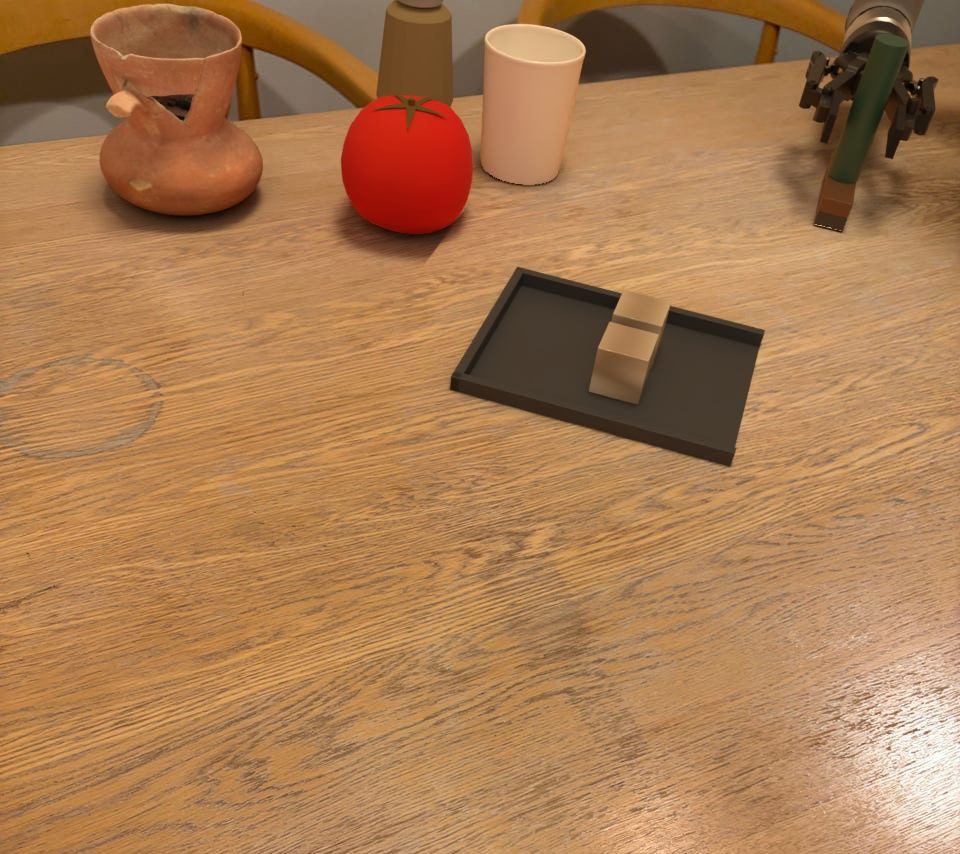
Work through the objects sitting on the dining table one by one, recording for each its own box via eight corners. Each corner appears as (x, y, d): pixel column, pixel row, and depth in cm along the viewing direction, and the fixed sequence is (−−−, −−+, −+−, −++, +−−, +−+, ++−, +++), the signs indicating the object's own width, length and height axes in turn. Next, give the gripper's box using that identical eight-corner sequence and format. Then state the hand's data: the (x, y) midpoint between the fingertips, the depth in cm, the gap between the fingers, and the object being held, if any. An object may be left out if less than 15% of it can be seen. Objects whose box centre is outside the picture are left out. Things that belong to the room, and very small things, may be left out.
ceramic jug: (206, 254, 90) (187, 83, 79) (65, 211, 92) (28, 39, 82) (303, 175, 101) (298, 15, 91) (175, 138, 104) (155, -21, 93)
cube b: (647, 377, 82) (659, 334, 79) (637, 405, 79) (649, 361, 76) (599, 365, 82) (609, 321, 79) (588, 391, 80) (597, 347, 77)
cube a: (660, 344, 85) (671, 301, 82) (650, 370, 83) (662, 326, 80) (613, 332, 86) (623, 289, 83) (603, 357, 83) (612, 313, 80)
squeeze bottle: (363, 138, 108) (366, -61, 95) (392, 110, 113) (398, -82, 100) (435, 156, 107) (447, -43, 93) (460, 127, 112) (476, -65, 99)
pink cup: (457, 152, 108) (467, 27, 99) (537, 142, 112) (554, 20, 103) (500, 195, 103) (515, 66, 94) (583, 183, 106) (605, 58, 97)
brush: (851, 184, 112) (911, 24, 100) (843, 233, 105) (907, 64, 93) (822, 178, 113) (878, 17, 101) (812, 225, 105) (872, 57, 93)
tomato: (469, 196, 102) (480, 78, 94) (465, 263, 93) (477, 140, 85) (350, 183, 101) (350, 63, 93) (334, 250, 93) (333, 124, 84)
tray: (448, 402, 79) (450, 375, 77) (513, 291, 91) (517, 266, 89) (725, 478, 76) (735, 453, 75) (756, 354, 88) (765, 329, 86)
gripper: (943, 111, 115) (941, 197, 100) (780, 74, 118) (754, 153, 103) (974, 38, 110) (977, 118, 95) (802, 1, 112) (778, 73, 97)
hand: (861, 136), depth 99 cm, fingers open, 6 cm apart
